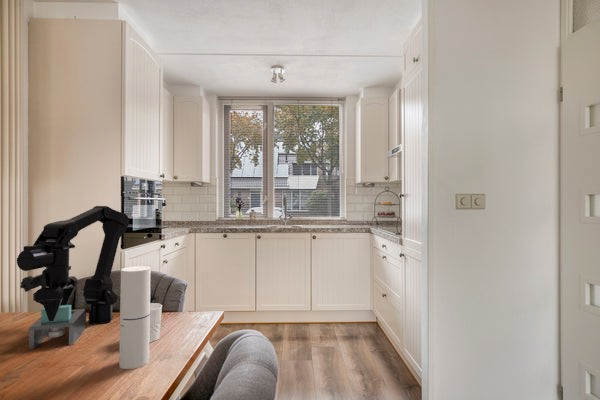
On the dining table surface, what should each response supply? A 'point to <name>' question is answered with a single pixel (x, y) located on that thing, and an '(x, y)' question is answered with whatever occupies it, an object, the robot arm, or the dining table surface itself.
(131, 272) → the cylindrical container
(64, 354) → the dining table surface
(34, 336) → the grey square frame stand
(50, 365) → the dining table surface
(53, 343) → the dining table surface
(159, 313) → the white cup
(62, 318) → the peg
